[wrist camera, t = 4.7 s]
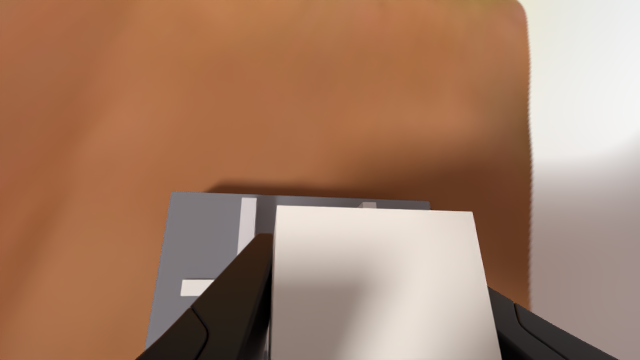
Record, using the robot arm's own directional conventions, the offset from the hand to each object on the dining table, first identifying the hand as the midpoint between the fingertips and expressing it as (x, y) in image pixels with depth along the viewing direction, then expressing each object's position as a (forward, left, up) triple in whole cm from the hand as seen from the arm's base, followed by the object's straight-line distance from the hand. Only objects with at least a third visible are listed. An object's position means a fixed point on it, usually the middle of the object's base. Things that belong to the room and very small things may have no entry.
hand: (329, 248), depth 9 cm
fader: (-1, +1, -5) cm, 5 cm away
